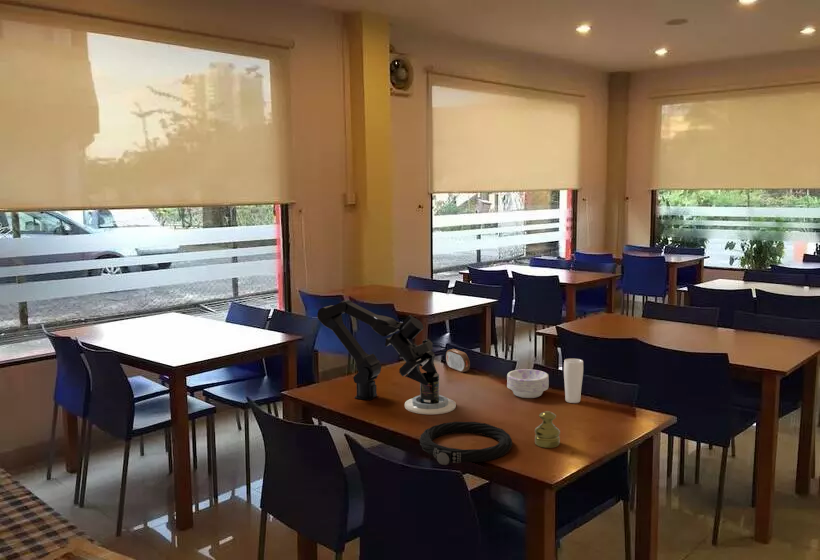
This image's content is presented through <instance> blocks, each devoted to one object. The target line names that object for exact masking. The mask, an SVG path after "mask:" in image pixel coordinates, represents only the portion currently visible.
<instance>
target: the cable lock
mask: <svg viewBox="0 0 820 560" xmlns="http://www.w3.org/2000/svg"><path fill="white" fill-rule="evenodd" d="M464 433H465V434H466V433H470V434H476V435H483V436H486V437H491V438H494V440H497V441H498V443H497V444H495V445H493V446H489V447H484V448H479V449H477V448H476V449H475V448H473V449H463V448H461V449H460V448H453V447H452V448H451V447H446V446H444V445H440V444H437V443H435V442H434V441H433V440H434V439H436V438H438V437H441V436H445V435H450V434H464ZM418 439H419V440H418V441H419V445H420V446H421V449H422V450H423V452H425V453H427V454H428V455H430V456H433V458H434V459H436V460H437V462H438V464H439V465H442V466H447V465H451V463H453V464H455V463H456V464H459V463H460V464H461V463H482V462H486V461H493V460H495V459H497V458H500V457H503V456H504V455H506V454H507V453H509V452H510V450H511V449H512V446H513V439H512V437H511V436H510V434H509V433H508V432H507V431H505V430H504V429H503V428H500V427H497V426H495V425H491V424H489V423H484V422H482V423H481V422H477V421H453V422H443V423H440V424H436V425H432V426H431V427H429V428H427V429H425V430H424V431H423V432H422V433H421V434H420V437H419V438H418Z"/></svg>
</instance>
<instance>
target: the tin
mask: <svg viewBox="0 0 820 560" xmlns="http://www.w3.org/2000/svg"><path fill="white" fill-rule="evenodd" d="M445 363H446V364H447V366H448V367H449V368H450V369H452V370H454V371H457V372H459V373H465V372H468V371H470V368H471V362H470V358H469V357H468V355H467V353H466V352H464V351H461V350H459V349H455V348H452V349H448V350H447V351H446V352H445Z"/></svg>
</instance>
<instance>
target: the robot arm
mask: <svg viewBox="0 0 820 560" xmlns="http://www.w3.org/2000/svg"><path fill="white" fill-rule="evenodd" d="M342 314H347V315H349V316H351V317H353V318H355V319H357V320H359V321H361V322H362V323H364V324H365V325H368V326H370V327H371V329H372V330H373V331H374V332H375V333H377V334H378V335H379V336H380V337H386V338H385V339H384V340H385V344H384V345H385V347H389V346H392V348H394V350H395V351H396V352H397V353H398V357H399V359H403V361H404V364H403V365H402V366H401V367H399V370H398V373H399V374H400V375H401V377H405V378H408V379H411V380H413V381H415V382H418V383H419V384H420V383H422V384H424V385H428V382H427V380H426V379H425V377H424V376H423V374H422V373H423V372H421V370H420V369H422V371H424V372H425V373H426V372H434V373H438V371H437V368H436V366H435V363H434V362H435V361H434V360H435V358H436V357H435V355H436V354H435V352H433V350H434V348H433V344H434V343H433V342H432V341H431V340H430V339H429V338H426V339H424V340H422V343H421V344H418V345H417V344H416V343H412V342H411V341H410V340H413V339H415V338H416V336H418V335H419V334H420V333H421V331H423V330H424V329H425V328H424V325H423V324H424V323H422V322H421V321H420V320H419V319H418V318H416V317H414V316H412V315H411V314H410V315H408V316H406V318H405V319H404V321H402V322H399V321H397V320H396V319H395V318H393V317H390V316H386V315H380V314H376V313H374V312H373V311H370V310H368V309H366V308H365V307H362V306H360V305H358V304H356V303H354V302H352V300H349V299H346V300H342V301H340V302H338V303H336V304H333V305H332V304H330V305H327V306H323V307H320V308H319V309H318V311H317V315H316V317H317V319H318V321H319V322H320V323H321V324H322V325H323V326H324V327H325V328H327V329H330V330H331V331H332V332H333V333H334V334H335V336H336V337H337V339H339V341H340V342H341V345H343V347H344V348H345V349H346V350H347V352H348V353H349V355H350V356H351V357H352V359H353V360H354V363H355V366H356V367H355V368H356V370H357V373H356V374H355V375H354V376H353V377H352V379H353V382H354V383H355V384H356V395H354V399H356V400H357V399H358V400H359V399H360V400H365V401H366V400H367V401H371V400H373V399H374V398H376V397H377V396H378V392H377V384H376V380H377V378H378V375H380V374H381V371H382V365H381V360H379V359H378V358H377V356H376V355H375V353H372V354H369V353H367V352H366V351H365V350H364V349H363V347H362V346H361V345H360V344H359V342H358V340H356V337H354V335H353V334H352V332H351V331H350V330H349V328H348V327H347V326H346V325H345V324H344V322H343V321H344V320H343V315H342ZM396 332H397V333H396ZM390 335H391V336H390ZM388 336H390V337H388Z"/></svg>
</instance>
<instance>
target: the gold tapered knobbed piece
mask: <svg viewBox="0 0 820 560" xmlns="http://www.w3.org/2000/svg"><path fill="white" fill-rule="evenodd" d="M538 417H539V419H541V420H542V422H541V424H539V425H538V426H536V427H535V429H534V434H535V435H534V444H535V445H536V446H538V447H540V448H546V449H554V448H557V447H559V446H560V441H561V440H560V439H561V437H560V435H561V430H560V429H559V428H558V427H557V426H556V425H555V424H554V422H553V421H554V420H555V419H556V418H557V414H555V413H554V412H552V411H550V410H545V411H542V412H540V413H539V416H538Z"/></svg>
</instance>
